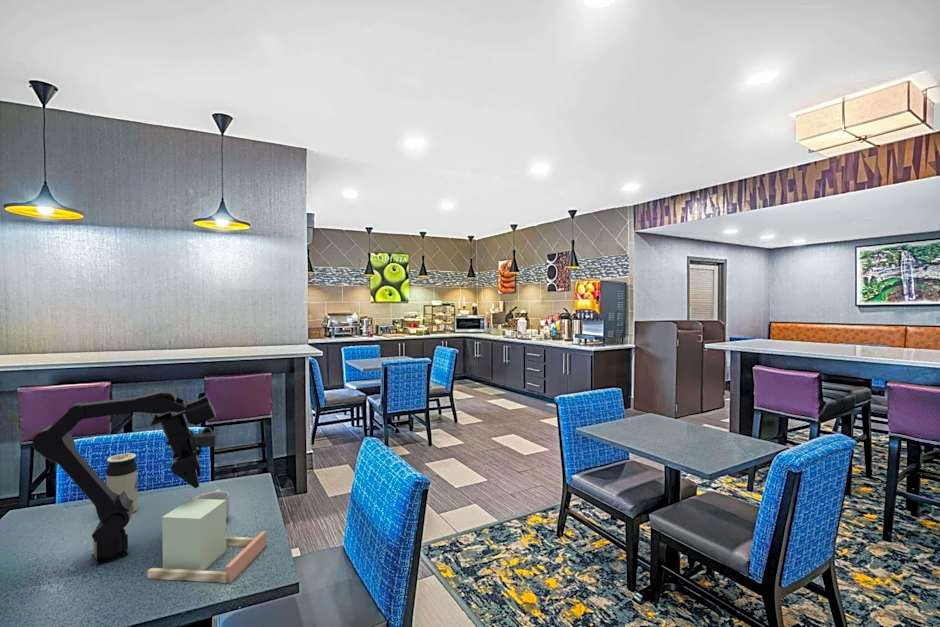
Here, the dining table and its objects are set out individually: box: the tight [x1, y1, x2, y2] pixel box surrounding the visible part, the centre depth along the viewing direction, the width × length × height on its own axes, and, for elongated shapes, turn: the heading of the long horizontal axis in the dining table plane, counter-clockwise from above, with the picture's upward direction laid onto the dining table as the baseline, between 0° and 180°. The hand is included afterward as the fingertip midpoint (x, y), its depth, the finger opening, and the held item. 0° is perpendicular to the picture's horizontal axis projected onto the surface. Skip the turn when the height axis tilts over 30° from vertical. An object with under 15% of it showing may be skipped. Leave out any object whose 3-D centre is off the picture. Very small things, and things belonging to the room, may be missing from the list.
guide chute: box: [147, 530, 267, 584], centre depth 123 cm, size 21×17×4 cm
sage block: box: [161, 498, 227, 571], centre depth 123 cm, size 10×11×14 cm
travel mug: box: [105, 452, 139, 513], centre depth 150 cm, size 8×8×18 cm
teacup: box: [192, 488, 230, 518], centre depth 145 cm, size 14×11×8 cm
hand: (198, 481), depth 134 cm, fingers open, 9 cm apart
